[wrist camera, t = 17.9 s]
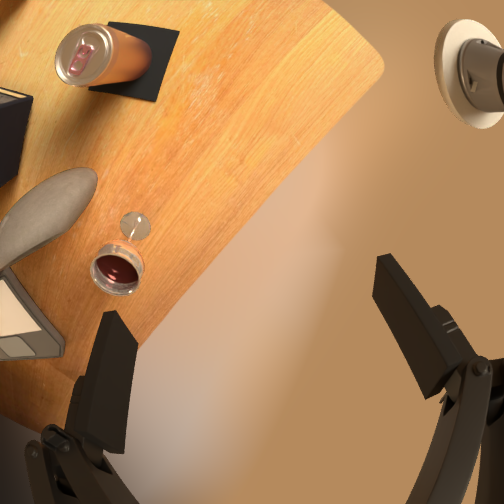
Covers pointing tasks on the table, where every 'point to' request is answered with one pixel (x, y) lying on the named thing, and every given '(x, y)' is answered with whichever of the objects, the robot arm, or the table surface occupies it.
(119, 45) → the beverage can
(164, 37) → the table mark
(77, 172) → the smooth grey egg stone
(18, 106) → the speaker
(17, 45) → the table surface
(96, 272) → the wineglass
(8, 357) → the laptop
